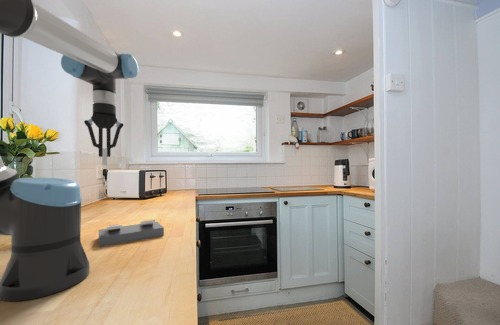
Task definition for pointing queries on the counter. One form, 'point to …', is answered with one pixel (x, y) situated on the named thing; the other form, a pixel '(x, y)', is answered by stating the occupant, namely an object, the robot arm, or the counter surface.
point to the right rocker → (147, 222)
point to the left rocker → (114, 226)
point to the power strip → (129, 233)
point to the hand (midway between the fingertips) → (104, 165)
